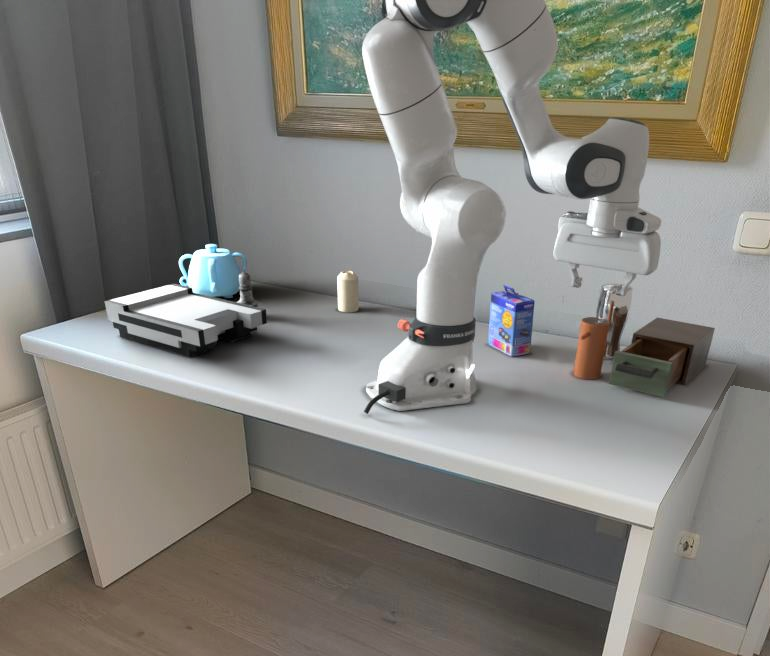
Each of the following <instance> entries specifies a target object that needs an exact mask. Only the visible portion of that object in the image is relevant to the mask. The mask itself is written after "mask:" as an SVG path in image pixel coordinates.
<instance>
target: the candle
mask: <svg viewBox="0 0 770 656" xmlns="http://www.w3.org/2000/svg"><path fill="white" fill-rule="evenodd" d="M336 280H337V281H336V285H337V309H338V311H339V312H342V313H355V312H357V311H359V307H360V305H359V304H360V303H359V276H358V275H357V274H356V273H355V272H353V271H352V270H350V269H349V270H343V271H341V272H340V273H339V274H338V275H337V277H336Z"/></svg>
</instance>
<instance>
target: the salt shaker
mask: <svg viewBox="0 0 770 656" xmlns="http://www.w3.org/2000/svg"><path fill="white" fill-rule="evenodd" d="M251 281H252V280H251V275H250V274H249V273H248V272H247V271H245V270H244V269H243V273H241V274H240V275H239V284H240V287H239V288H238V289H239V295H240V297H239V300H237V301H235V302H236V303H241V304H245V305H249V306H254V307H258V306H259V305H258V304H259V301H258V300H256V299H254V296H253V289H254V287H253V286H252V282H251ZM258 308H259V307H258Z"/></svg>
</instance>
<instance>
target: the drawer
mask: <svg viewBox="0 0 770 656" xmlns="http://www.w3.org/2000/svg"><path fill="white" fill-rule="evenodd" d="M631 343H632V342H631ZM631 343H630V344H629V345H627V346H626V347H624V348H623V349H622V350H620V351H616V352H615V353H614V359H612V364H611V365H612V366H611V371H610V376H609V382H608V384H609V385H612V386H616V387H619V388H620V387H621V388H623V389H629V390H632V391H637V392H641V393H644V394H650V395H653V396H658V397H662V398H665V397H666V396H667V392H668V390H669V389H670V388H671V387H672V386H673V385H674V384H676V383H675V382H676V381H678V380H679V379H680V378H681V377H682V376H683V374H684V370H685V366H686V362H687V357H688V353H689V349H690V348H688V347H683V346H678V345H673V344H668V343H663V342H658V341H653V340H648V339H643V338H639V339H638V340H636V341H635V342H633V343H632V344H631Z"/></svg>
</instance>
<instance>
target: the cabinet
mask: <svg viewBox="0 0 770 656" xmlns="http://www.w3.org/2000/svg"><path fill="white" fill-rule="evenodd" d="M715 329H716V328H715V327H711V326H706V325H700V324H696V323H690V322H685V321H684V322H683V321H680V320H673V319H669V318H668V319H667V318H662V317H655V318H654V319H652V320H651V321H649V322H648V323H646V324H645V325H644V326H642V327H640V328H639V329H638V330H636V331H635V332H633V334H632V338H631V343H630V345H631V344H632V343H633V342H635V341H636V340H638V339H639V338H643V339H648V340H653V341H658V342H663V343H668V344H673V345H678V346H683V347H688V348H690V349H689V353H688V357H687V362H686V366H685V370H684V374H683V376H682V377H681V378H680V379H679V380H678V381H676V382H675V383H674V384H679V385H683V386H685V385H686V384H687V383H689V381H691V380H692V379H693V378H694V377H695V376H696V375H697V374H699V372H700V371H701V370H703V368H705V367H706V366H707V365H706V364H707V361H708V357H709V353H710V349H711V345H712V341H713V337H714V333H715V331H716V330H715Z"/></svg>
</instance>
